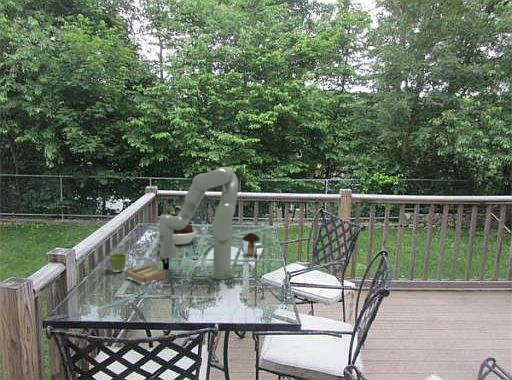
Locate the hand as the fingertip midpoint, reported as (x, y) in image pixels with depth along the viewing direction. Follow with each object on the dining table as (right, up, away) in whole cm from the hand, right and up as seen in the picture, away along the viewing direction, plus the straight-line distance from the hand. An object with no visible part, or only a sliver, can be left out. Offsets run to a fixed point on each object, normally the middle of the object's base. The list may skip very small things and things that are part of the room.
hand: (165, 269), depth 227 cm
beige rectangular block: (-7, -3, -10) cm, 13 cm away
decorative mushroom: (+46, +1, +40) cm, 61 cm away
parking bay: (-8, -3, -10) cm, 13 cm away
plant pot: (-26, -1, -1) cm, 26 cm away
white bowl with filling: (-5, +6, +61) cm, 62 cm away
